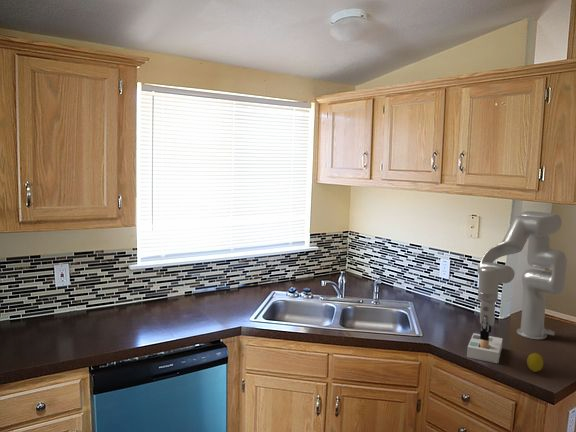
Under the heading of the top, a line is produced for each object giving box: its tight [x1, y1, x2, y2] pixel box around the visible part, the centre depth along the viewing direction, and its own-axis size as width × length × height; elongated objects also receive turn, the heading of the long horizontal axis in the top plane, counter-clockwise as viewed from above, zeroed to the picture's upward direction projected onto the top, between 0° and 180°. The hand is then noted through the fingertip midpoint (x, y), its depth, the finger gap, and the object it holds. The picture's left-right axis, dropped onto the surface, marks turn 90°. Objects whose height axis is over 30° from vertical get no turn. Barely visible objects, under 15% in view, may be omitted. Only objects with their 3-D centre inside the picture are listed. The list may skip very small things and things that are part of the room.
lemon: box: [526, 352, 544, 373], centre depth 178 cm, size 6×6×8 cm
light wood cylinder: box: [480, 340, 489, 349], centre depth 192 cm, size 3×3×9 cm
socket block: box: [466, 332, 503, 364], centre depth 196 cm, size 12×18×5 cm, turn 151°
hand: (485, 335), depth 192 cm, fingers open, 9 cm apart
